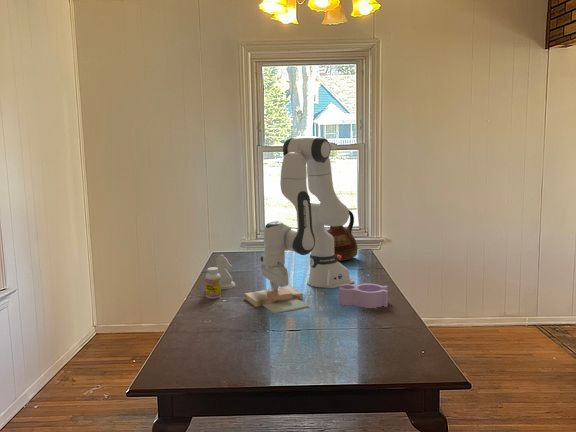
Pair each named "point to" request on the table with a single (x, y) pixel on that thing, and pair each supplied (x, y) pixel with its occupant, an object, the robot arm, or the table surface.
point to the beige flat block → (261, 298)
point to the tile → (279, 294)
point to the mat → (285, 305)
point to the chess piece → (224, 272)
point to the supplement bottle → (213, 283)
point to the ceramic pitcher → (344, 240)
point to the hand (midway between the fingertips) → (274, 291)
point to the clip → (363, 295)
